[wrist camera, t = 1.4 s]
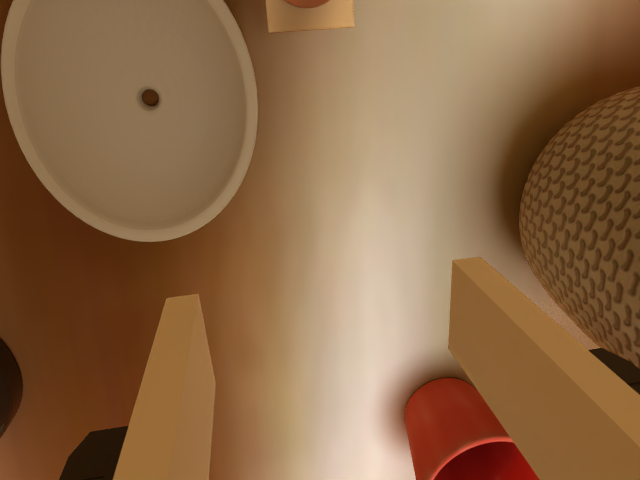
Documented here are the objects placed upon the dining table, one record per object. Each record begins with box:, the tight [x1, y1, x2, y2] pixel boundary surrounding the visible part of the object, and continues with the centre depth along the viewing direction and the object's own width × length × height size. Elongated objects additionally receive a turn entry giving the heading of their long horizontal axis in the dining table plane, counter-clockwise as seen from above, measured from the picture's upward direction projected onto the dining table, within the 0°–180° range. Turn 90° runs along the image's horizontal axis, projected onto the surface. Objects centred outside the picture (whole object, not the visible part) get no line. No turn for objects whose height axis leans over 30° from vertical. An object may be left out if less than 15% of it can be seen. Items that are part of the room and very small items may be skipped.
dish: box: [1, 0, 258, 242], centre depth 30 cm, size 18×14×5 cm
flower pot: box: [405, 378, 540, 480], centre depth 43 cm, size 11×11×10 cm
